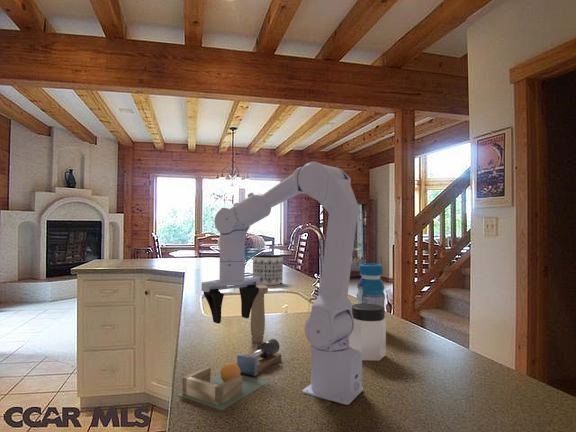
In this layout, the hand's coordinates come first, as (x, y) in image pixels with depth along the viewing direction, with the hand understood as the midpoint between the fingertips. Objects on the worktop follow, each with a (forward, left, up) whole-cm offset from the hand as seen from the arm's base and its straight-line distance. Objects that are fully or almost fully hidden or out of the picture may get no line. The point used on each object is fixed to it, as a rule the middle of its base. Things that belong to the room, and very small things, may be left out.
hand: (231, 320), depth 91 cm
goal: (-7, +14, -10) cm, 19 cm away
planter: (+60, -103, -10) cm, 119 cm away
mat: (-8, +12, -10) cm, 17 cm away
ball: (-7, +9, -8) cm, 14 cm away
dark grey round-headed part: (-7, -1, -9) cm, 12 cm away
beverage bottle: (-17, -45, -10) cm, 49 cm away
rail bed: (-7, -3, -10) cm, 13 cm away
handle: (+5, -17, -10) cm, 20 cm away
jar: (-24, -23, -10) cm, 35 cm away
